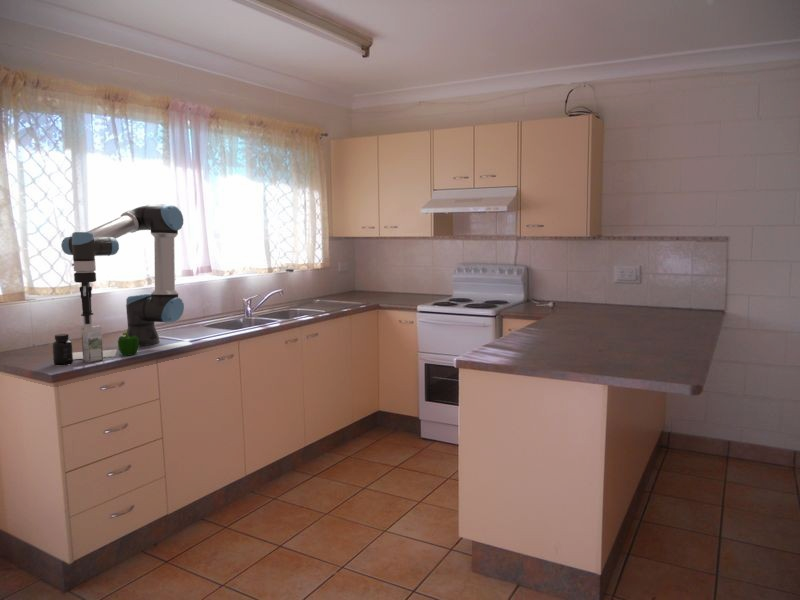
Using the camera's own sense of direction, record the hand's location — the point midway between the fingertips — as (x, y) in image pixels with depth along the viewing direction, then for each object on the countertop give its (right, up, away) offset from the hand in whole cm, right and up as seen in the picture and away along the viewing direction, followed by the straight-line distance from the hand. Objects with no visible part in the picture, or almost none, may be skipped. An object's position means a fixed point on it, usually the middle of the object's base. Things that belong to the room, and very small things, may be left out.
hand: (88, 331), depth 236 cm
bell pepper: (+6, -11, +22) cm, 26 cm away
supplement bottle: (-12, -13, +5) cm, 19 cm away
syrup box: (-4, -13, +11) cm, 17 cm away
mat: (-9, -11, +21) cm, 26 cm away
